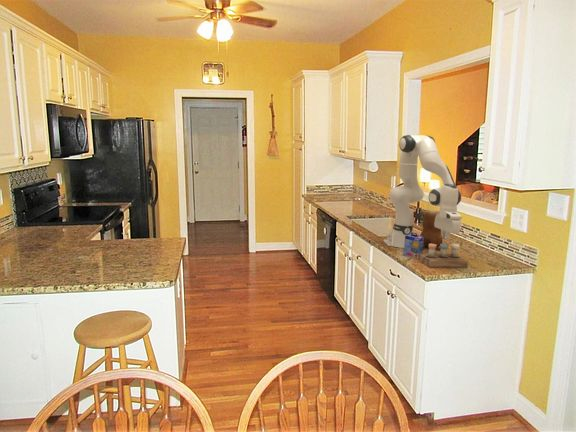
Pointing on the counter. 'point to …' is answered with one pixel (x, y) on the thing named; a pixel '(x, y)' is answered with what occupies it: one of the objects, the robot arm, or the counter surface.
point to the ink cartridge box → (413, 245)
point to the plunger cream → (454, 250)
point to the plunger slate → (443, 250)
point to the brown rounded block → (431, 229)
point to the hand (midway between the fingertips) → (445, 238)
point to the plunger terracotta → (432, 250)
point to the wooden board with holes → (442, 261)
